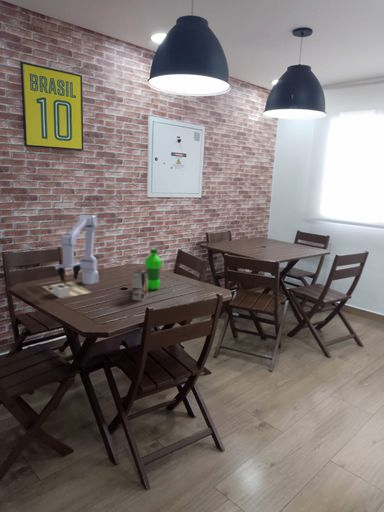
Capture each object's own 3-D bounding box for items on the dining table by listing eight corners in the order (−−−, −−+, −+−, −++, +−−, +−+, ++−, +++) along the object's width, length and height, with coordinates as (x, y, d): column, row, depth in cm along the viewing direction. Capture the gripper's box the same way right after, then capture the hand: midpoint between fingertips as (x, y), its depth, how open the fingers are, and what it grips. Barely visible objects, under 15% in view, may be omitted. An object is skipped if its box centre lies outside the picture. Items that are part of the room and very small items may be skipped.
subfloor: (72, 283, 232) (72, 281, 232) (91, 294, 213) (91, 292, 213) (42, 288, 219) (42, 286, 219) (60, 300, 201) (60, 298, 200)
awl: (64, 284, 226) (64, 274, 225) (67, 285, 224) (66, 275, 222) (59, 284, 224) (59, 274, 222) (62, 286, 222) (61, 275, 220)
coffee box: (142, 301, 206) (143, 273, 203) (132, 299, 208) (132, 272, 204) (148, 296, 215) (148, 269, 212) (137, 295, 216) (138, 268, 213)
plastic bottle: (147, 285, 236) (148, 247, 231) (162, 287, 234) (164, 248, 229) (142, 289, 227) (142, 250, 221) (158, 291, 225) (159, 251, 219)
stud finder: (63, 291, 211) (62, 282, 210) (69, 295, 205) (69, 286, 203) (52, 293, 207) (52, 284, 206) (59, 297, 201) (59, 288, 199)
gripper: (58, 259, 197) (59, 283, 200) (83, 256, 206) (84, 279, 209) (53, 256, 202) (54, 280, 205) (78, 254, 211) (78, 276, 214)
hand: (68, 279), depth 207 cm, fingers open, 7 cm apart
